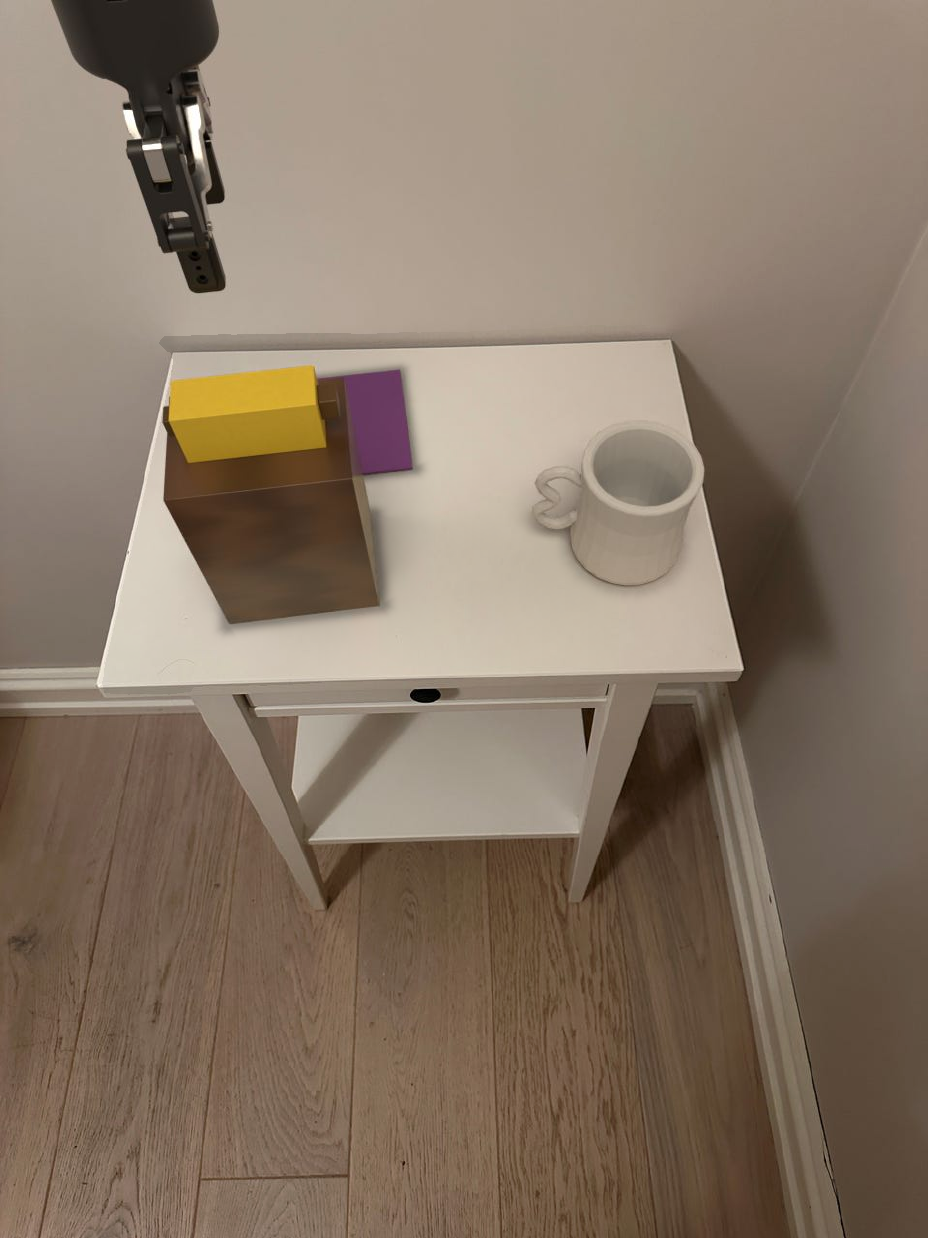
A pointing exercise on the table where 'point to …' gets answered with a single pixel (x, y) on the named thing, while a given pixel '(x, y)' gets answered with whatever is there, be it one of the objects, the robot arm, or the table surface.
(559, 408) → the table surface
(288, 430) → the yellow brick
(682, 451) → the mug
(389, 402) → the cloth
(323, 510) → the block
